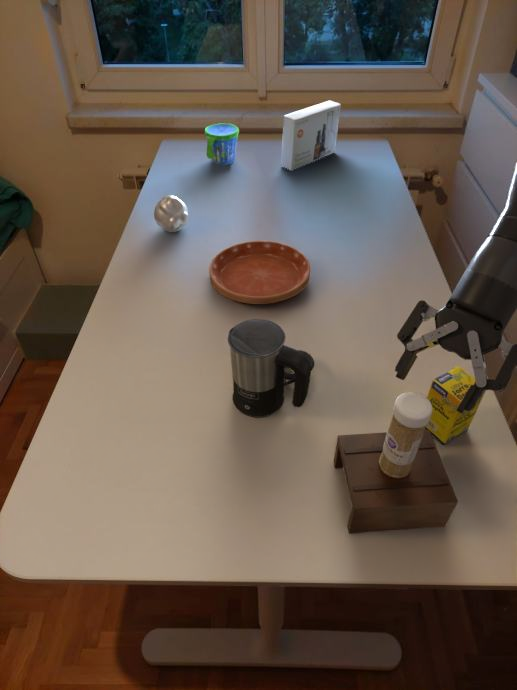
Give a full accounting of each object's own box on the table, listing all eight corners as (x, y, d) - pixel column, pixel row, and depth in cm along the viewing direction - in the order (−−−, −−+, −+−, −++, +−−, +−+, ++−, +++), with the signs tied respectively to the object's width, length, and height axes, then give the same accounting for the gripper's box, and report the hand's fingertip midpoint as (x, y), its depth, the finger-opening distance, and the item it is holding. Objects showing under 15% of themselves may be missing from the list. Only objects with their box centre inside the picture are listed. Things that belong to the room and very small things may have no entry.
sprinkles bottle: (371, 465, 71) (387, 403, 62) (391, 446, 73) (409, 384, 64) (398, 486, 69) (419, 425, 59) (417, 466, 71) (440, 404, 62)
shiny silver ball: (154, 240, 129) (148, 204, 122) (158, 221, 136) (152, 186, 129) (189, 239, 129) (185, 203, 122) (192, 220, 136) (188, 185, 129)
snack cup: (221, 173, 157) (219, 140, 150) (195, 165, 162) (192, 133, 155) (250, 156, 167) (249, 124, 160) (225, 149, 171) (223, 118, 164)
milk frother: (227, 415, 87) (222, 353, 77) (241, 352, 98) (239, 291, 88) (309, 423, 85) (315, 362, 75) (314, 359, 97) (320, 298, 87)
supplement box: (444, 447, 82) (462, 404, 74) (416, 423, 85) (431, 379, 78) (468, 431, 84) (488, 387, 76) (441, 408, 88) (457, 364, 80)
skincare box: (292, 172, 157) (294, 119, 147) (280, 166, 160) (281, 115, 150) (336, 153, 168) (341, 103, 157) (324, 148, 171) (328, 99, 160)
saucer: (189, 280, 116) (188, 267, 113) (259, 242, 128) (259, 229, 125) (260, 325, 104) (260, 311, 101) (329, 279, 116) (331, 265, 113)
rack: (419, 456, 80) (429, 428, 75) (445, 526, 72) (458, 500, 67) (333, 461, 80) (337, 434, 75) (348, 534, 71) (354, 508, 66)
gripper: (436, 252, 63) (372, 365, 65) (554, 298, 56) (478, 424, 57) (446, 269, 69) (388, 371, 71) (553, 312, 62) (485, 425, 64)
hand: (428, 395), depth 64 cm, fingers open, 8 cm apart
